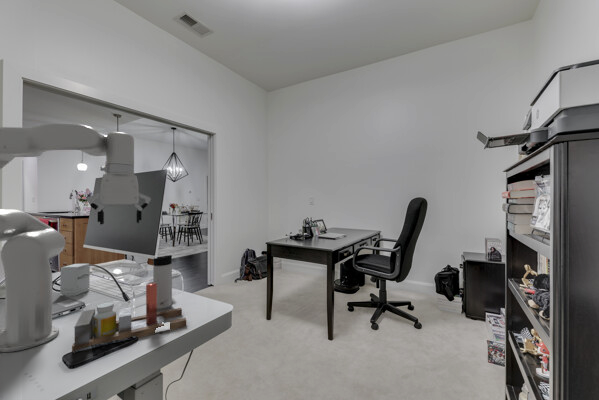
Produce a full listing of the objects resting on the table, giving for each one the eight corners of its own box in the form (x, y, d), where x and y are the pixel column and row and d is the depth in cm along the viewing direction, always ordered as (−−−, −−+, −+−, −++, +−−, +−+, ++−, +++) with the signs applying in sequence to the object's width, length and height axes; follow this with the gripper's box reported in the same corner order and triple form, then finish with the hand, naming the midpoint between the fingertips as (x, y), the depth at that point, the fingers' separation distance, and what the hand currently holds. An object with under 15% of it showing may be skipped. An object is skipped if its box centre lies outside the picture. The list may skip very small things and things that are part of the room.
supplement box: (76, 296, 113) (76, 267, 113) (59, 296, 113) (59, 267, 113) (90, 290, 120) (90, 263, 120) (74, 290, 120) (74, 263, 121)
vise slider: (118, 338, 75) (118, 292, 76) (120, 328, 82) (120, 286, 82) (164, 327, 82) (164, 285, 82) (162, 318, 88) (162, 280, 88)
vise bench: (72, 353, 68) (72, 327, 68) (80, 334, 78) (80, 311, 78) (186, 326, 83) (186, 304, 83) (181, 313, 93) (180, 293, 93)
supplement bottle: (88, 342, 74) (88, 308, 74) (101, 333, 79) (101, 301, 79) (108, 341, 74) (108, 307, 74) (120, 332, 80) (120, 301, 80)
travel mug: (165, 312, 94) (164, 257, 95) (149, 310, 96) (149, 256, 96) (176, 305, 101) (176, 254, 101) (161, 304, 102) (161, 253, 102)
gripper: (84, 168, 77) (84, 225, 76) (151, 171, 86) (151, 222, 86) (88, 171, 83) (88, 224, 83) (150, 173, 92) (150, 221, 92)
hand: (120, 223), depth 84 cm, fingers open, 9 cm apart
